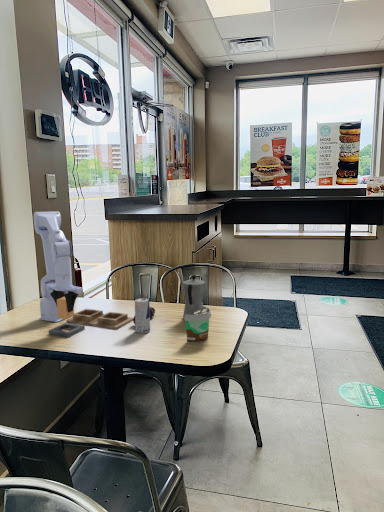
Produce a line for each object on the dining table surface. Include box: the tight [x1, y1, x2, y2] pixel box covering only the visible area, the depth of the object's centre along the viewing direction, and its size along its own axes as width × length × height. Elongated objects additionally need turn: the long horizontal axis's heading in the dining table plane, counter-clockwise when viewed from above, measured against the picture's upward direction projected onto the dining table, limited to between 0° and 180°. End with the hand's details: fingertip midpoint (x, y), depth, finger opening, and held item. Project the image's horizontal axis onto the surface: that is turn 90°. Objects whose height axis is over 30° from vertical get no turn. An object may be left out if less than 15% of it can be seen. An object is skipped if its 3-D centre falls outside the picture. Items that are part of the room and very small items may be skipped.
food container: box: [183, 305, 212, 343], centre depth 134 cm, size 12×6×10 cm, turn 148°
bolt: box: [132, 306, 156, 326], centre depth 155 cm, size 6×5×15 cm
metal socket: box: [48, 322, 86, 339], centre depth 143 cm, size 9×9×2 cm
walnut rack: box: [66, 308, 134, 330], centre depth 155 cm, size 24×12×3 cm, turn 67°
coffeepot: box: [182, 274, 206, 320], centre depth 155 cm, size 15×9×18 cm, turn 168°
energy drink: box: [134, 297, 151, 334], centre depth 142 cm, size 5×5×12 cm
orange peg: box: [57, 297, 75, 320], centre depth 141 cm, size 4×4×7 cm
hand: (65, 310), depth 142 cm, fingers closed on orange peg, 4 cm apart
